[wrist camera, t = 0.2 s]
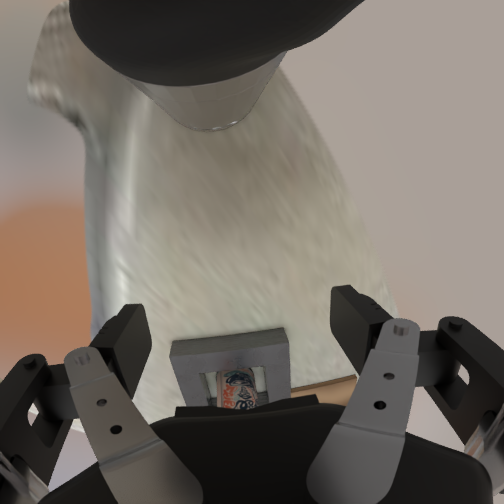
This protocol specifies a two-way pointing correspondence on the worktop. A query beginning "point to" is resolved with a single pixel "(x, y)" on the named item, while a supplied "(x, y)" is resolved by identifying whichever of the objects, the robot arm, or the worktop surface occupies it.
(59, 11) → the worktop surface
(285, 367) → the metal collar
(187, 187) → the worktop surface
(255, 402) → the beer can
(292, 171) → the worktop surface
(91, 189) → the worktop surface
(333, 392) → the walnut coaster
